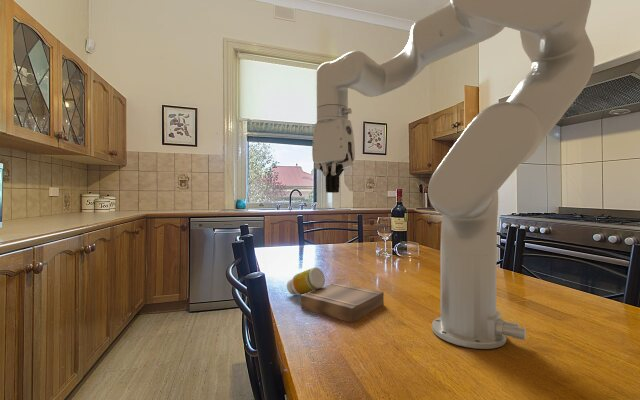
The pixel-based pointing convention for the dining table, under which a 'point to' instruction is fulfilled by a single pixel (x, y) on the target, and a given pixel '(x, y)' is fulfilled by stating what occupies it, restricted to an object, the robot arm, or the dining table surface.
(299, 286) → the supplement bottle
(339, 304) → the walnut board
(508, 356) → the dining table surface
